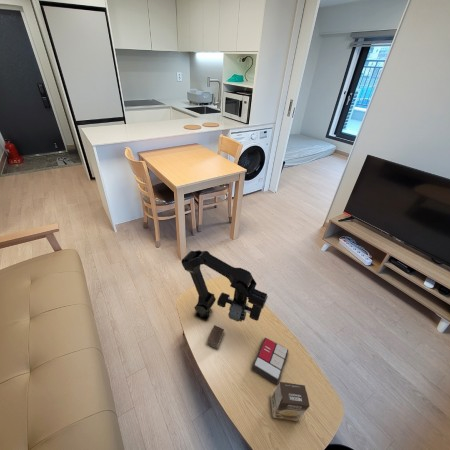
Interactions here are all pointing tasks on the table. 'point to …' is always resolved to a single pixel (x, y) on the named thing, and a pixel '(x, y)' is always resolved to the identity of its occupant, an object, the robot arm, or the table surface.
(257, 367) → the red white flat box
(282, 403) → the coffee box
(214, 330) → the walnut block
